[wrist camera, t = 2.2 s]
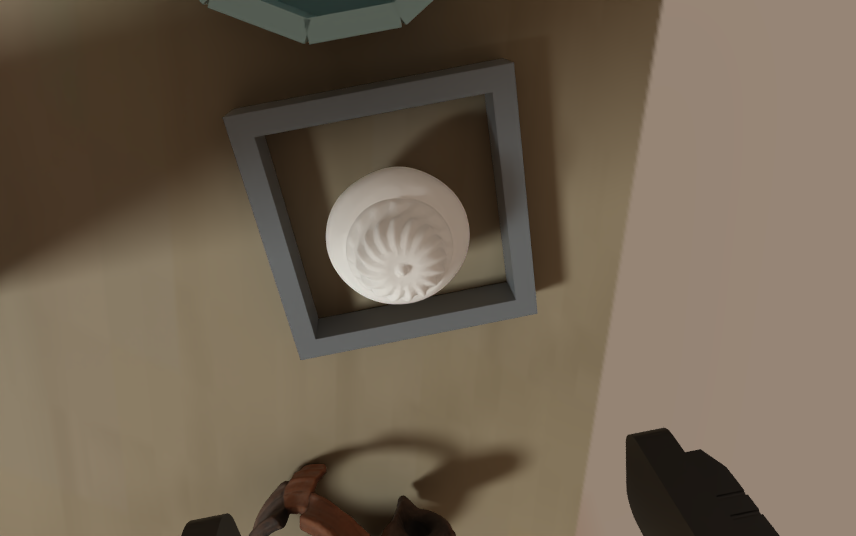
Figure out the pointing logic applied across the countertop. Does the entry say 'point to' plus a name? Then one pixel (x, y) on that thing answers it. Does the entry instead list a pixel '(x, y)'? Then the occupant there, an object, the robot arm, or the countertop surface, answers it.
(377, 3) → the bowl
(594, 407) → the countertop surface
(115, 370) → the countertop surface
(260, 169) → the square frame
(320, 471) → the brown looped piece
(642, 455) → the robot arm
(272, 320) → the countertop surface
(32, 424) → the countertop surface
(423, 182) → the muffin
